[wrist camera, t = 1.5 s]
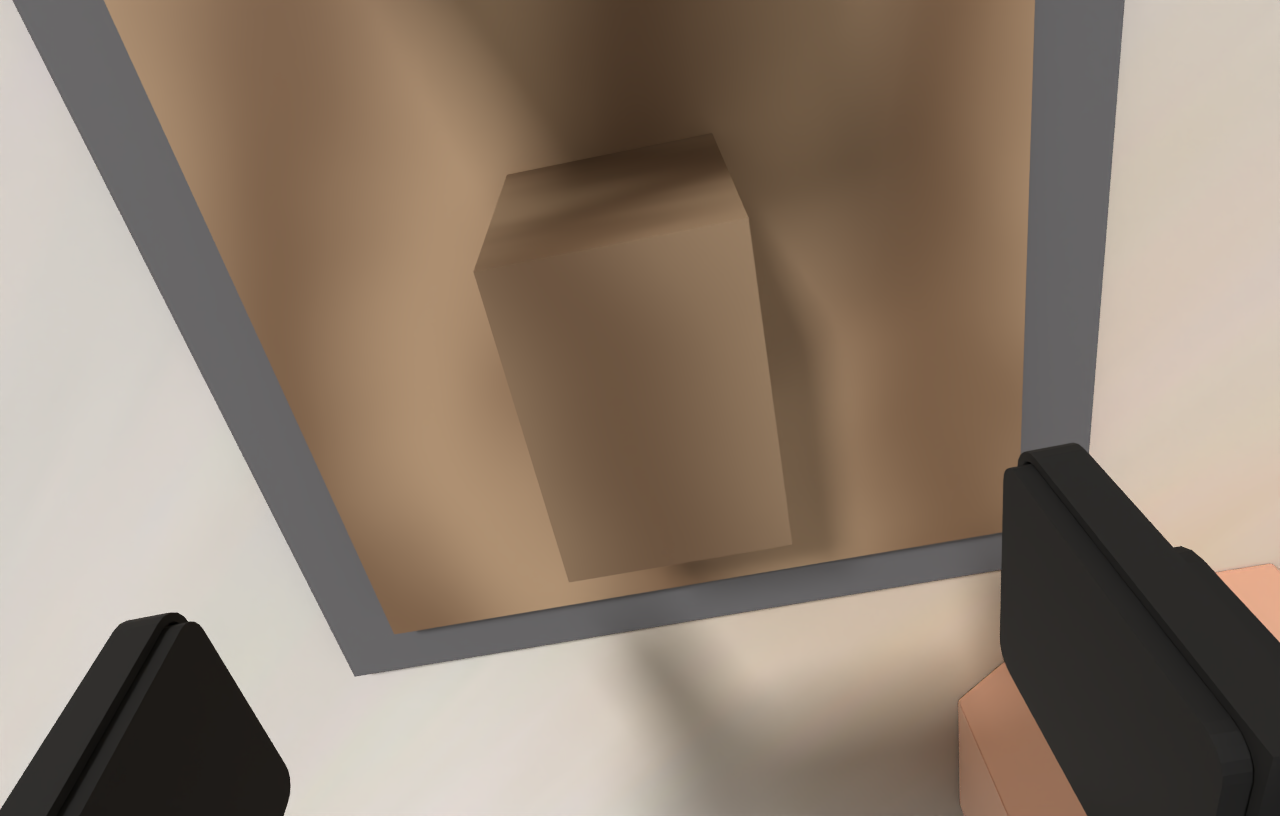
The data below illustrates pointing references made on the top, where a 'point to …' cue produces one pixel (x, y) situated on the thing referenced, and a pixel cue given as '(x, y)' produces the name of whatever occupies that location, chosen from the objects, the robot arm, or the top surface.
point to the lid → (619, 274)
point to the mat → (304, 510)
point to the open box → (1014, 745)
